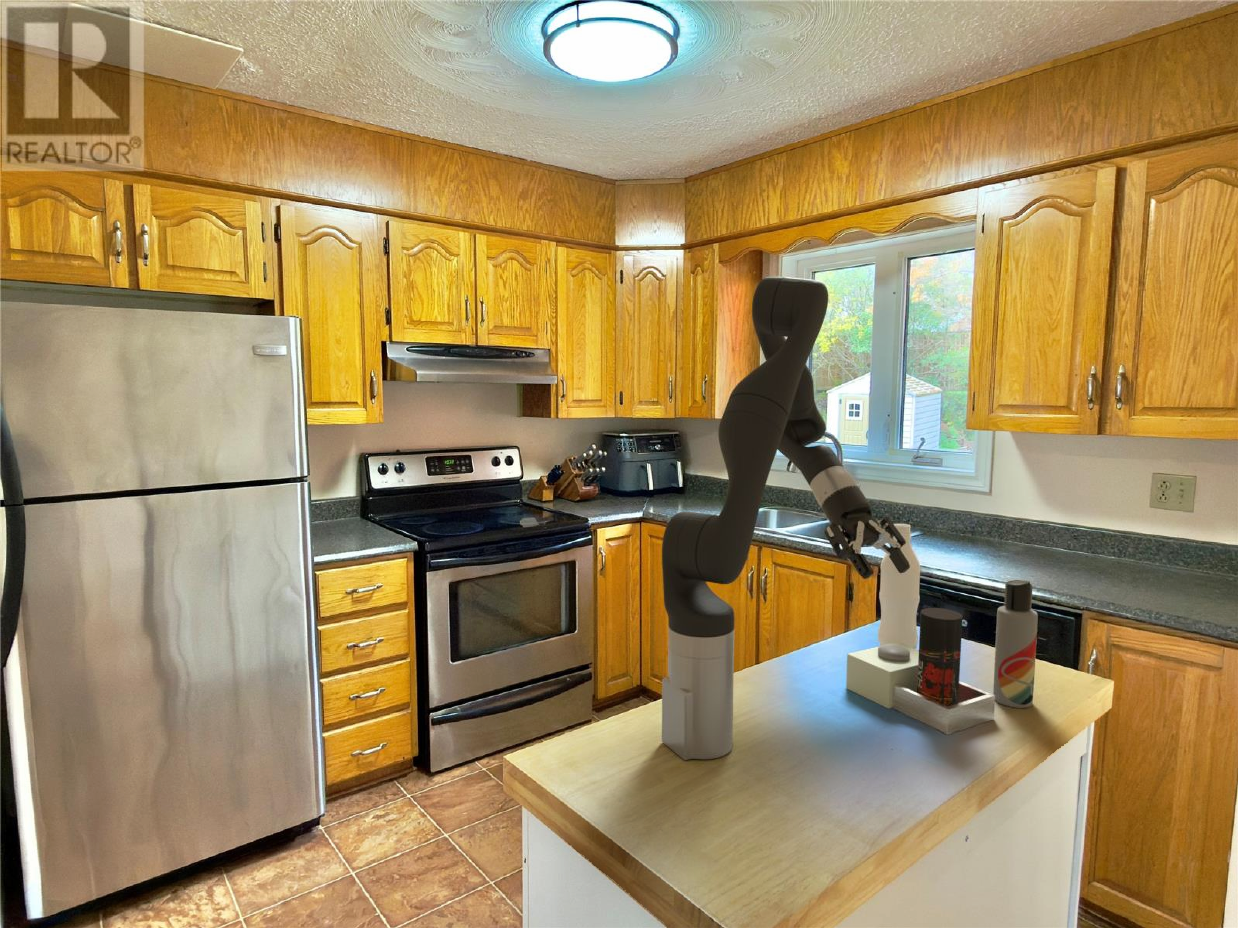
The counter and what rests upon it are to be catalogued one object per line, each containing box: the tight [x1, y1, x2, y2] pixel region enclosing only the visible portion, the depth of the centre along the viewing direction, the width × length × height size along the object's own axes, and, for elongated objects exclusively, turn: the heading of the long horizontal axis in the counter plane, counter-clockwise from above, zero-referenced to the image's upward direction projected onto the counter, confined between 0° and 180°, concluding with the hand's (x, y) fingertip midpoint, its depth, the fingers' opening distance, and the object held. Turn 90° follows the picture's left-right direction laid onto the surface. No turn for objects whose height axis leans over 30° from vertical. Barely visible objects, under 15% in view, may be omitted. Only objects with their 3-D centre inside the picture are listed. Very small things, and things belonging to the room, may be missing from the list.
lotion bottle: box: [992, 579, 1039, 709], centre depth 115 cm, size 6×6×20 cm
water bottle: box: [877, 523, 922, 650], centre depth 136 cm, size 7×7×25 cm
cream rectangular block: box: [845, 642, 919, 709], centre depth 120 cm, size 12×9×7 cm
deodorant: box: [917, 607, 964, 706], centre depth 111 cm, size 6×6×15 cm
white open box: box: [891, 680, 996, 735], centre depth 111 cm, size 11×10×4 cm
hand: (887, 573), depth 120 cm, fingers open, 8 cm apart
